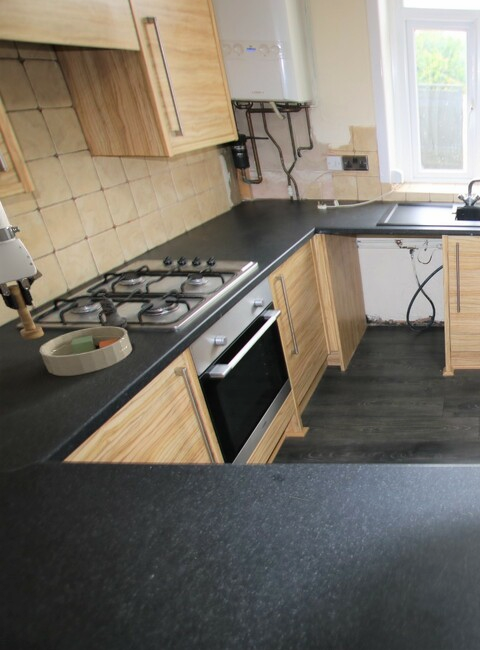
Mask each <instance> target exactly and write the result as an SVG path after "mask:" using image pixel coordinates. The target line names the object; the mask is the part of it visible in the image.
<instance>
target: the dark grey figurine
mask: <svg viewBox="0 0 480 650" xmlns="http://www.w3.org/2000/svg"><path fill="white" fill-rule="evenodd" d="M99 305H100V307H101V310H102V311H101V313H102V314H103V315H104V317H105V321H104V322H102V323H101V327H106V326H113V327H120V328H124V329H125V328H126V327H127V325H128V318H127V317H123V316H120V315H119V312H118V308H117V307H116V306H115V303H114V301H113V299H112V298H110V297H106V296H105V295H102V299H100V300H99Z"/></svg>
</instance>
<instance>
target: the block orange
mask: <svg viewBox="0 0 480 650" xmlns="http://www.w3.org/2000/svg"><path fill="white" fill-rule="evenodd" d="M118 340H119V338H116V339H111V340H106V341H102V342H99V345H98V346H99V349H101V348H103V347H106V346H108V345H111V344H113V343H115V342H117V341H118Z"/></svg>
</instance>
